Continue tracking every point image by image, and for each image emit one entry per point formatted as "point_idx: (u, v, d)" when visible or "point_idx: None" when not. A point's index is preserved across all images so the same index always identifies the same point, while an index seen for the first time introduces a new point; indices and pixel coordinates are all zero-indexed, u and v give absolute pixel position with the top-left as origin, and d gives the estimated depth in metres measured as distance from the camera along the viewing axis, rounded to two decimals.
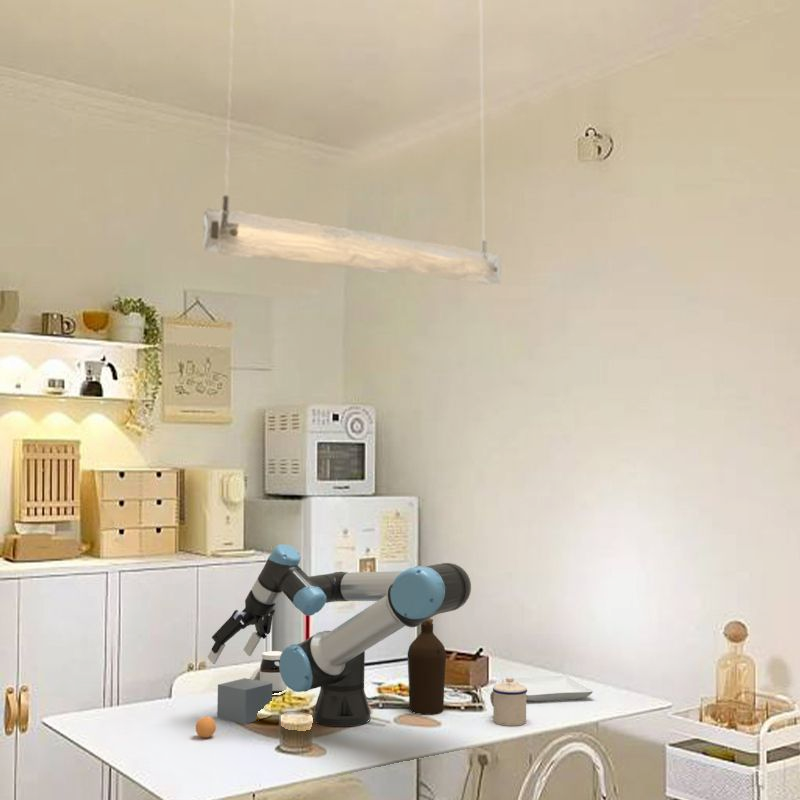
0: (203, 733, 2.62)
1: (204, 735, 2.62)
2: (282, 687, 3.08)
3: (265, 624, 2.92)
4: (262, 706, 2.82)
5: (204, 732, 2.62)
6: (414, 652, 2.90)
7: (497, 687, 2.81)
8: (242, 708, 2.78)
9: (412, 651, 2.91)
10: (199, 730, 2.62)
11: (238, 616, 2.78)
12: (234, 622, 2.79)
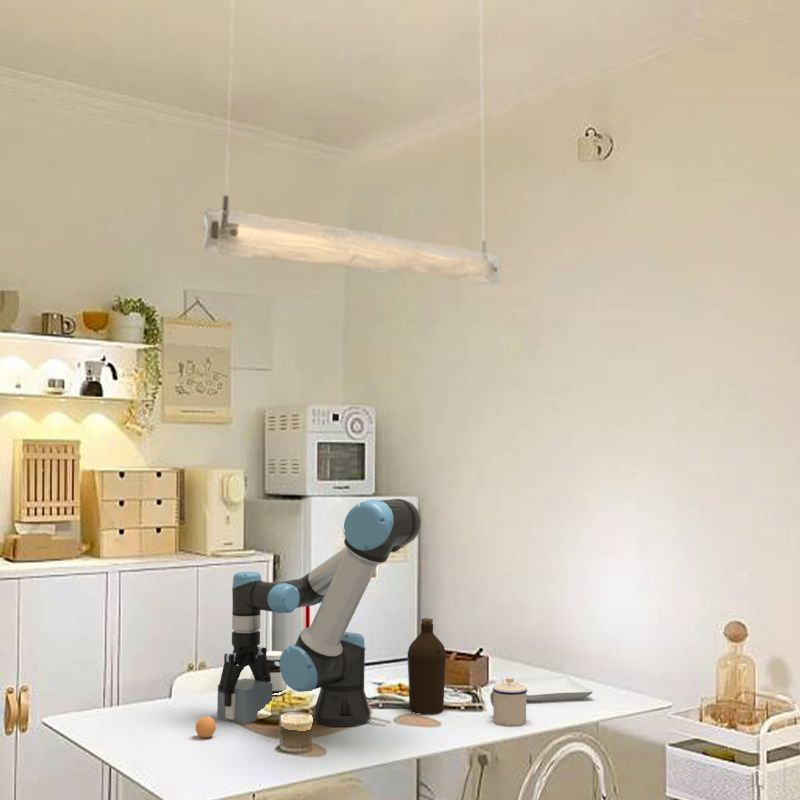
0: (203, 733, 2.62)
1: (204, 735, 2.62)
2: (282, 687, 3.08)
3: (263, 670, 2.90)
4: (262, 706, 2.82)
5: (204, 732, 2.62)
6: (414, 652, 2.90)
7: (497, 687, 2.81)
8: (242, 708, 2.78)
9: (412, 651, 2.91)
10: (199, 730, 2.62)
11: (229, 657, 2.79)
12: (229, 664, 2.79)
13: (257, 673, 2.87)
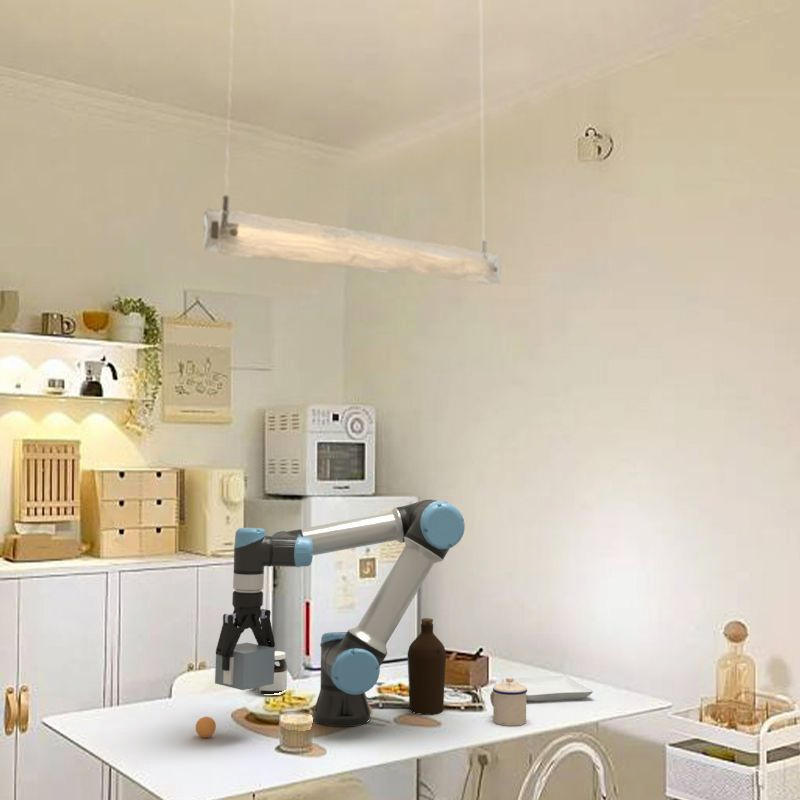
0: (203, 733, 2.62)
1: (204, 735, 2.62)
2: (282, 687, 3.08)
3: (266, 635, 2.70)
4: (263, 672, 2.62)
5: (204, 732, 2.62)
6: (414, 652, 2.90)
7: (497, 687, 2.81)
8: (240, 673, 2.58)
9: (412, 651, 2.91)
10: (199, 730, 2.62)
11: (228, 617, 2.59)
12: (228, 625, 2.59)
13: (259, 637, 2.67)
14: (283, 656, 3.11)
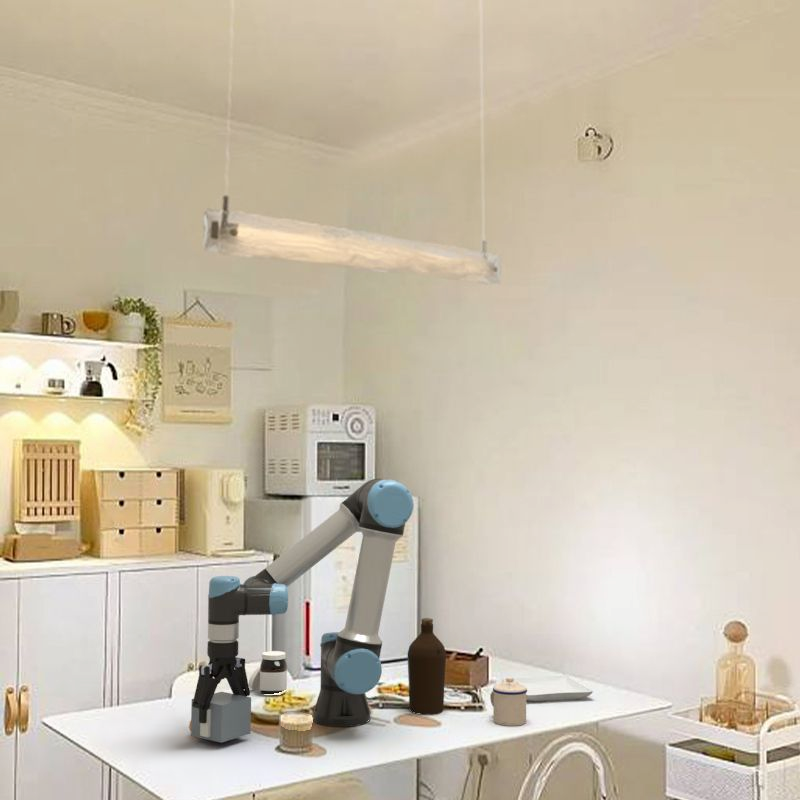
0: None
1: None
2: (282, 687, 3.08)
3: (241, 683, 2.67)
4: (240, 722, 2.59)
5: None
6: (414, 652, 2.90)
7: (497, 687, 2.81)
8: (218, 725, 2.55)
9: (412, 651, 2.91)
10: None
11: (204, 669, 2.56)
12: (204, 677, 2.56)
13: (235, 686, 2.64)
14: (283, 656, 3.11)
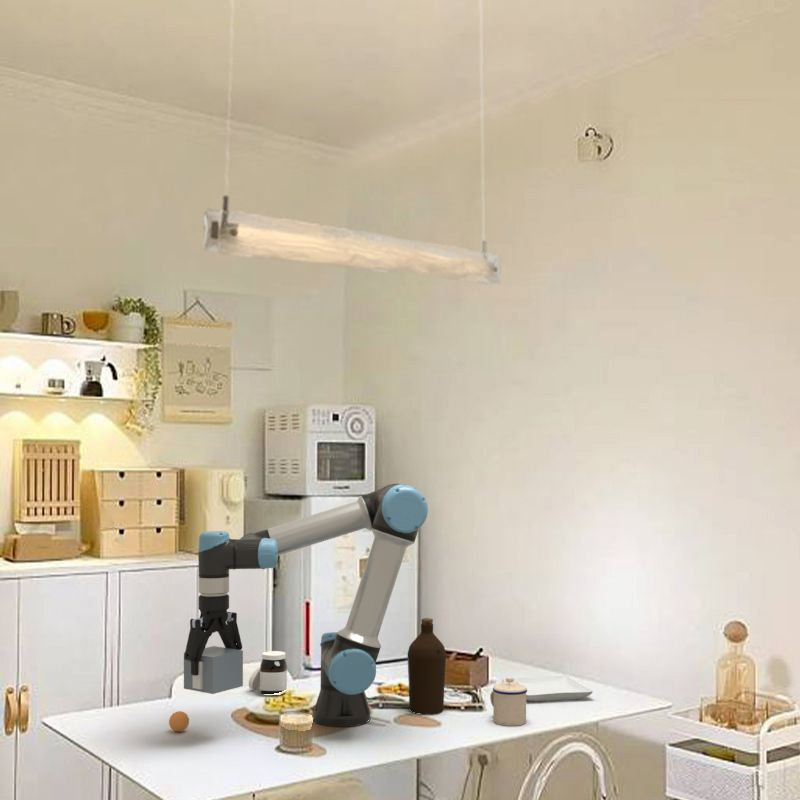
0: (169, 720, 2.69)
1: None
2: (282, 687, 3.08)
3: (233, 637, 2.70)
4: (232, 675, 2.62)
5: (169, 721, 2.69)
6: (414, 652, 2.90)
7: (497, 687, 2.81)
8: (210, 677, 2.57)
9: (412, 651, 2.91)
10: (170, 723, 2.68)
11: (195, 622, 2.58)
12: (195, 630, 2.58)
13: (227, 640, 2.67)
14: (283, 656, 3.11)
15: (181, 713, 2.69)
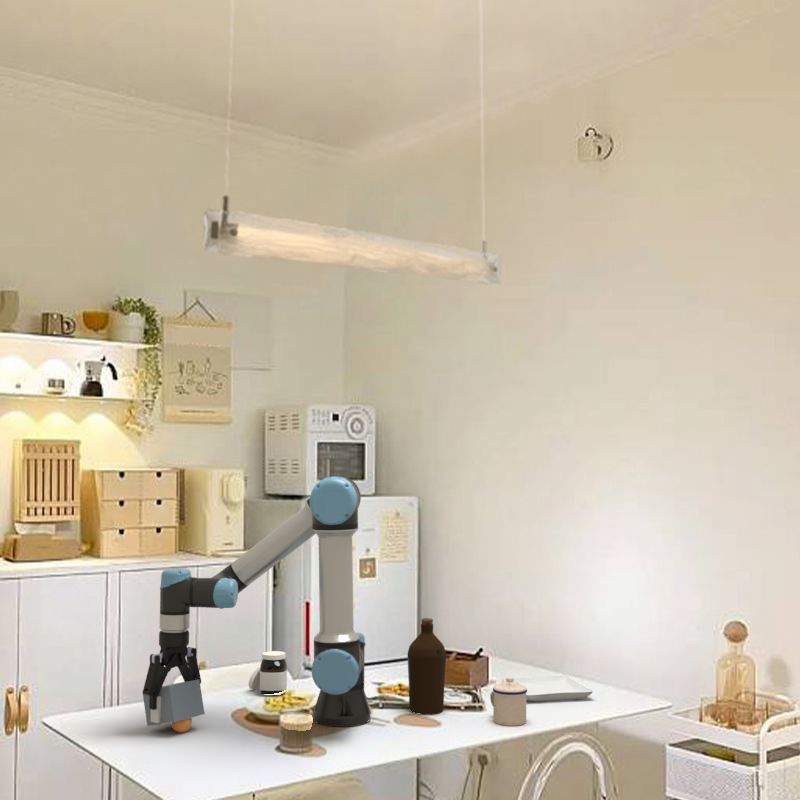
0: None
1: None
2: (282, 687, 3.08)
3: (192, 672, 2.77)
4: (191, 703, 2.69)
5: None
6: (414, 652, 2.90)
7: (497, 687, 2.81)
8: (169, 706, 2.65)
9: (412, 651, 2.91)
10: (173, 723, 2.67)
11: (155, 657, 2.66)
12: (154, 665, 2.66)
13: (186, 675, 2.75)
14: (283, 656, 3.11)
15: None
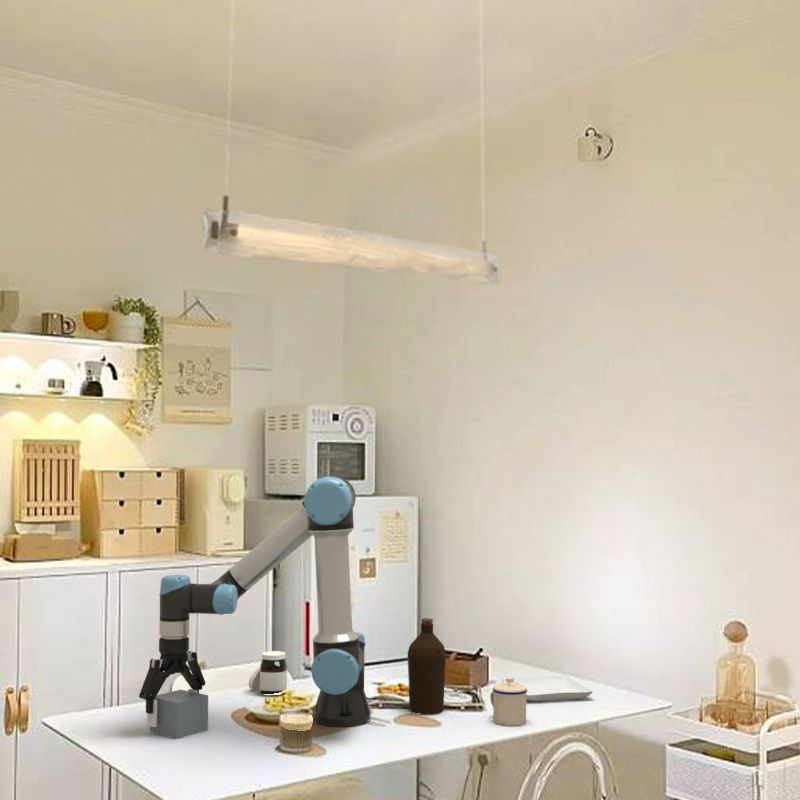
0: None
1: None
2: (282, 687, 3.08)
3: (195, 675, 2.78)
4: (197, 719, 2.68)
5: None
6: (414, 652, 2.90)
7: (497, 687, 2.81)
8: (174, 722, 2.63)
9: (412, 651, 2.91)
10: None
11: (155, 662, 2.66)
12: (154, 670, 2.66)
13: (189, 678, 2.75)
14: (283, 656, 3.11)
15: None
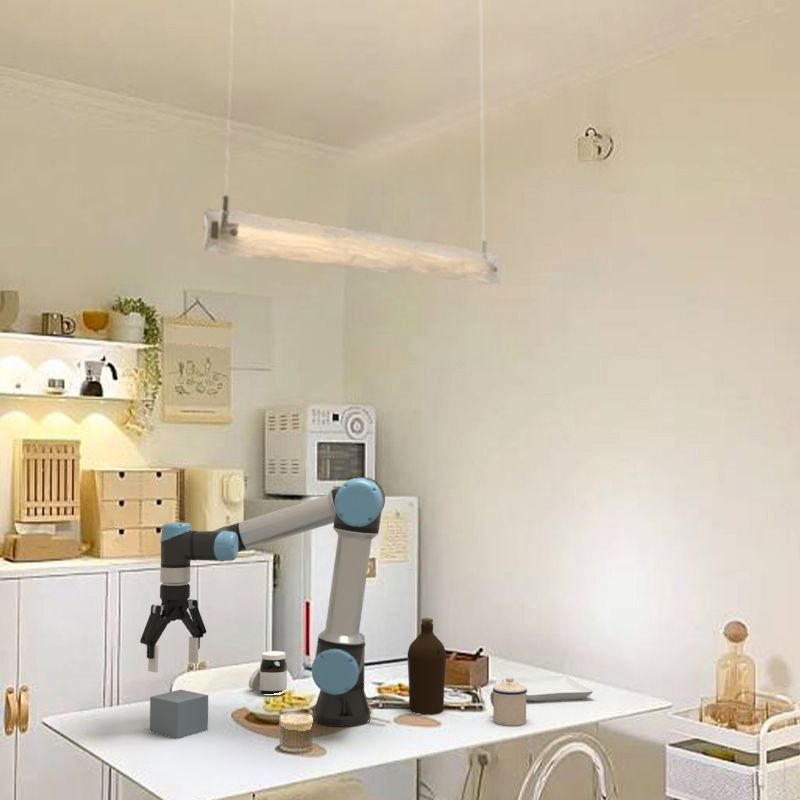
0: None
1: None
2: (282, 687, 3.08)
3: (196, 623, 2.79)
4: (197, 719, 2.68)
5: None
6: (414, 652, 2.90)
7: (497, 687, 2.81)
8: (174, 722, 2.63)
9: (412, 651, 2.91)
10: None
11: (156, 607, 2.67)
12: (155, 615, 2.66)
13: (190, 626, 2.76)
14: (283, 656, 3.11)
15: None
